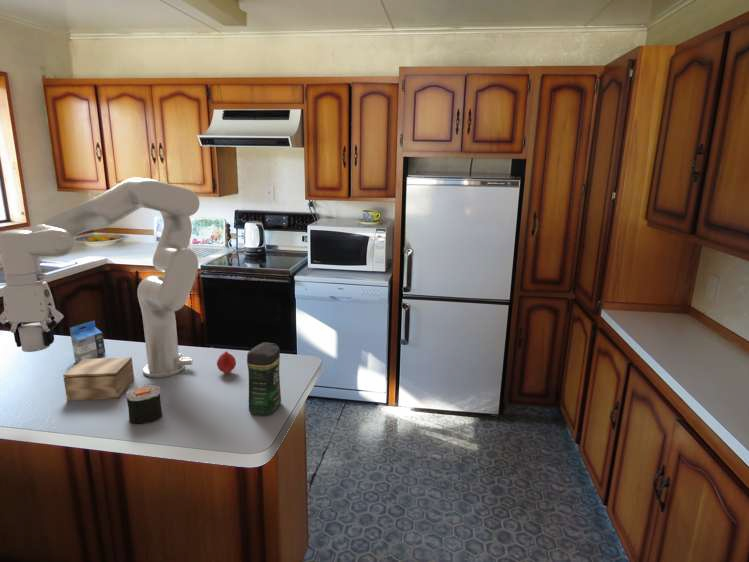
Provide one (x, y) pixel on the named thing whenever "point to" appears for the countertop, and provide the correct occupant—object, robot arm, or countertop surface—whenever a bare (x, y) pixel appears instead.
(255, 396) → the coffee jar
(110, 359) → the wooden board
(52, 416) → the countertop surface
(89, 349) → the label tape box
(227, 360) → the onion
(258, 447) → the countertop surface
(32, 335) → the cream-capped white cylinder
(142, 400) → the sushi
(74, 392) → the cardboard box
